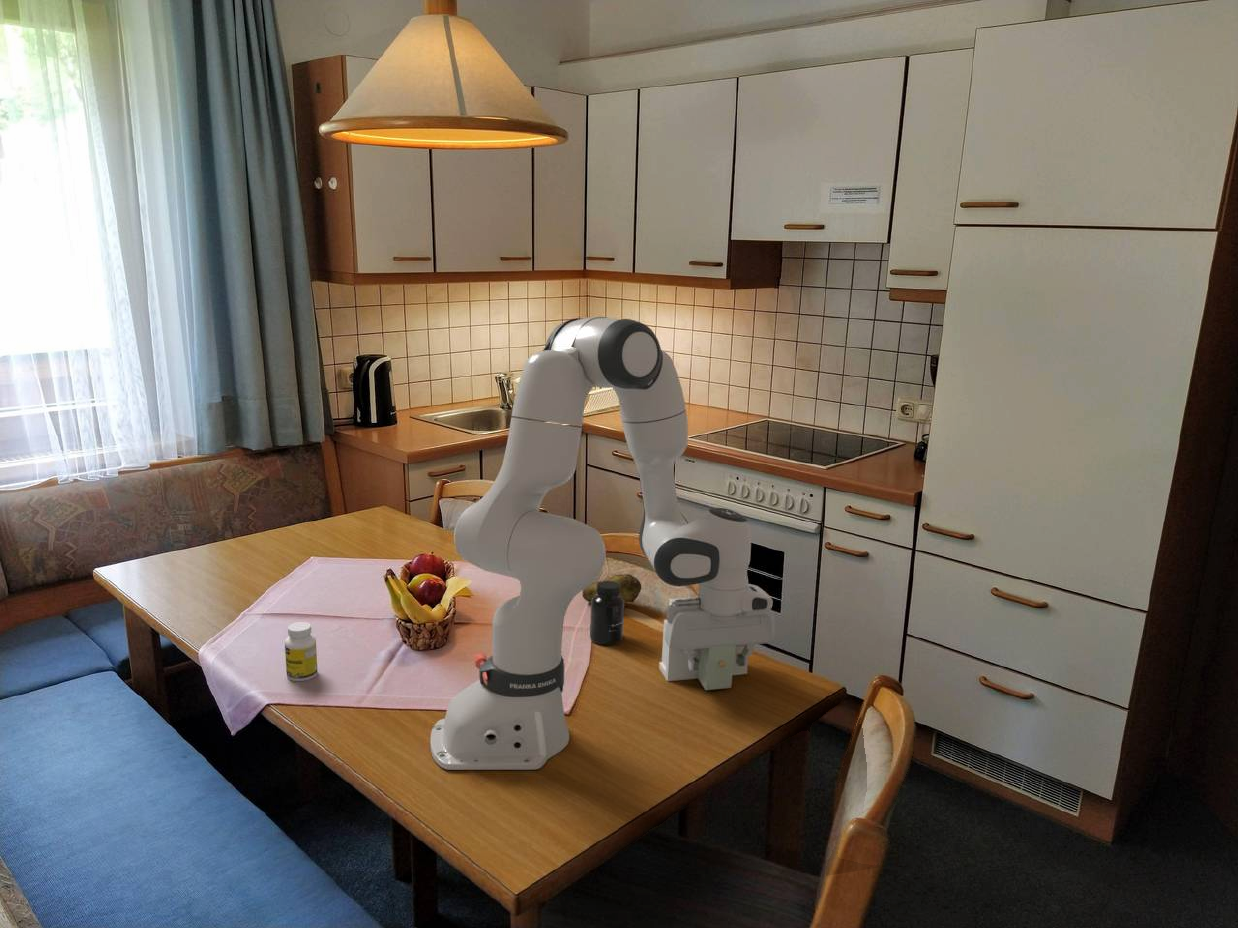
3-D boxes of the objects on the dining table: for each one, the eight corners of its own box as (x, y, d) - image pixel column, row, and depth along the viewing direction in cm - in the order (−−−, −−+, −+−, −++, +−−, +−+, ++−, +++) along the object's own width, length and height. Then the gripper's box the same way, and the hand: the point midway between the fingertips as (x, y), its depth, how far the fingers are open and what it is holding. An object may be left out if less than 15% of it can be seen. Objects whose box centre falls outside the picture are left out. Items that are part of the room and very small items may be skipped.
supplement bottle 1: (280, 677, 164) (277, 627, 162) (303, 665, 169) (300, 617, 166) (301, 684, 162) (298, 635, 159) (324, 673, 166) (321, 624, 164)
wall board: (670, 686, 166) (675, 606, 162) (658, 667, 173) (663, 590, 169) (750, 678, 170) (757, 600, 166) (736, 660, 177) (741, 585, 173)
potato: (600, 593, 208) (601, 560, 206) (645, 607, 201) (647, 574, 199) (577, 604, 202) (578, 570, 200) (624, 619, 195) (625, 585, 193)
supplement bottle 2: (619, 648, 181) (621, 592, 178) (586, 643, 182) (587, 588, 179) (625, 633, 187) (627, 580, 184) (593, 630, 189) (595, 576, 186)
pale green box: (707, 692, 163) (711, 649, 160) (695, 673, 169) (699, 630, 166) (732, 690, 164) (737, 646, 162) (720, 670, 170) (724, 628, 168)
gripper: (672, 607, 156) (668, 679, 159) (781, 599, 161) (774, 670, 164) (662, 593, 162) (658, 663, 165) (766, 586, 167) (761, 654, 170)
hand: (717, 666), depth 165 cm, fingers open, 8 cm apart
